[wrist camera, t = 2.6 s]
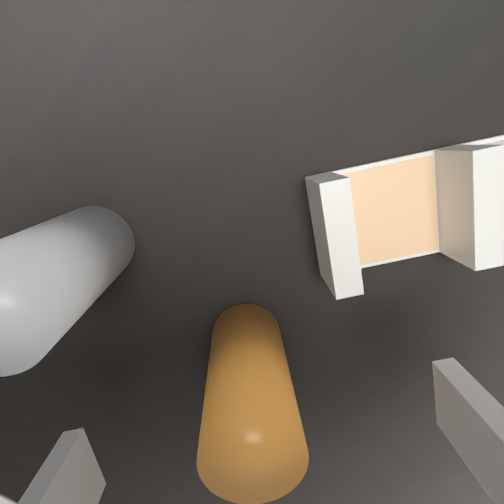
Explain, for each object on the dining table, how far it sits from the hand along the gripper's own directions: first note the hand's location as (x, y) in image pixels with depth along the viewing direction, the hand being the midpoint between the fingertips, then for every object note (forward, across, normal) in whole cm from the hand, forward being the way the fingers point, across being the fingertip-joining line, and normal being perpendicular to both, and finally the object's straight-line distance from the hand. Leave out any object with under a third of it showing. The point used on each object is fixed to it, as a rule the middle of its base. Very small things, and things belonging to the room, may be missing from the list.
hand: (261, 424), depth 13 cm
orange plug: (+6, 0, 0) cm, 6 cm away
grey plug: (+6, -6, +7) cm, 11 cm away
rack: (+6, +10, +6) cm, 13 cm away
